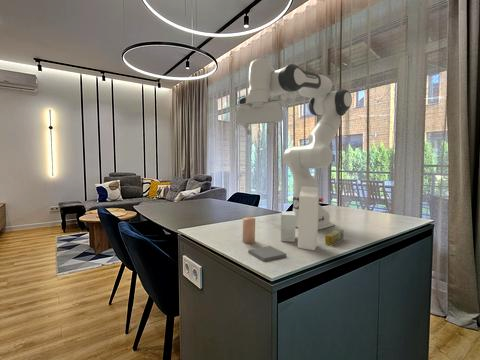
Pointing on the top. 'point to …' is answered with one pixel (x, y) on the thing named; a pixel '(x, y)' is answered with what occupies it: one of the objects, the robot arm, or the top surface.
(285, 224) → the small box
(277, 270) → the top surface
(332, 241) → the medication box
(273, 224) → the top surface
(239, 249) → the top surface
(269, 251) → the coaster
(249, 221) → the tan round cylinder
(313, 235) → the milk
